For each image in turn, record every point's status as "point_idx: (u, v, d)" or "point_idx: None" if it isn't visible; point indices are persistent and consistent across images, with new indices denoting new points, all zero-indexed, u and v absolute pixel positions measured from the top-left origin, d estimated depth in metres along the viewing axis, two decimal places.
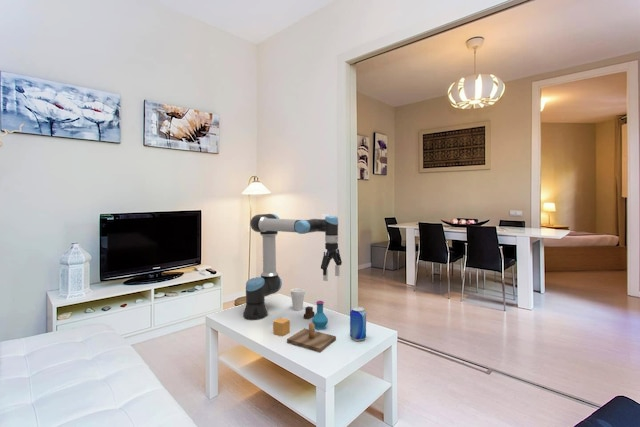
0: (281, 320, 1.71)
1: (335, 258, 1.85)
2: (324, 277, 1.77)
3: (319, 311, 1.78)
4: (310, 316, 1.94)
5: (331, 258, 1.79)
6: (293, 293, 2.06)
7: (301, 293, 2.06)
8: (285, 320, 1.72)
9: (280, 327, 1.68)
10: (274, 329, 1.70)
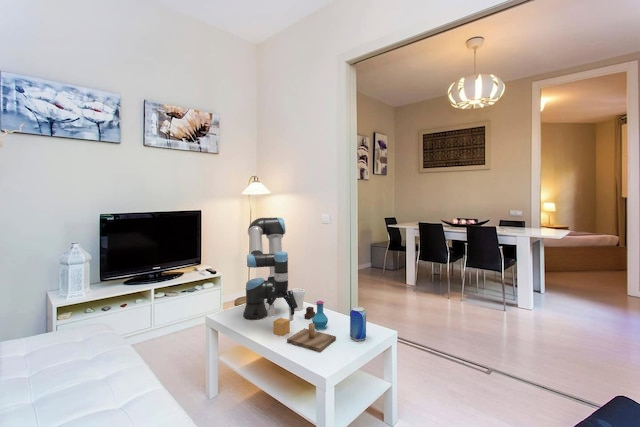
0: (281, 320, 1.71)
1: None
2: None
3: (319, 311, 1.78)
4: (311, 316, 1.93)
5: (275, 296, 1.71)
6: (293, 293, 2.06)
7: (301, 293, 2.06)
8: (285, 320, 1.72)
9: (280, 327, 1.68)
10: (274, 329, 1.70)
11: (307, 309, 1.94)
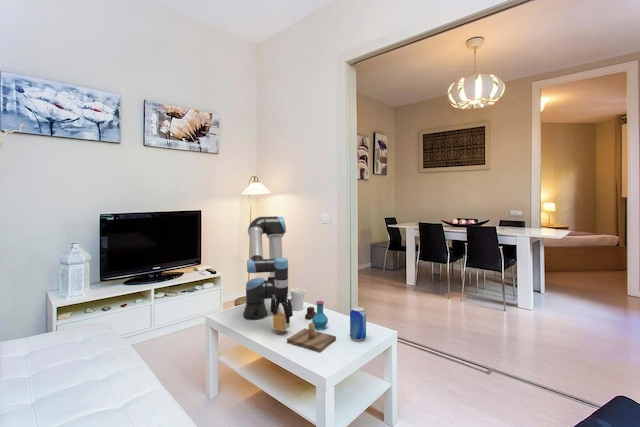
0: (281, 315, 1.71)
1: None
2: None
3: (319, 311, 1.78)
4: (312, 316, 1.93)
5: (276, 303, 1.71)
6: (293, 293, 2.06)
7: (301, 293, 2.06)
8: None
9: (280, 322, 1.68)
10: (274, 323, 1.71)
11: (308, 309, 1.93)
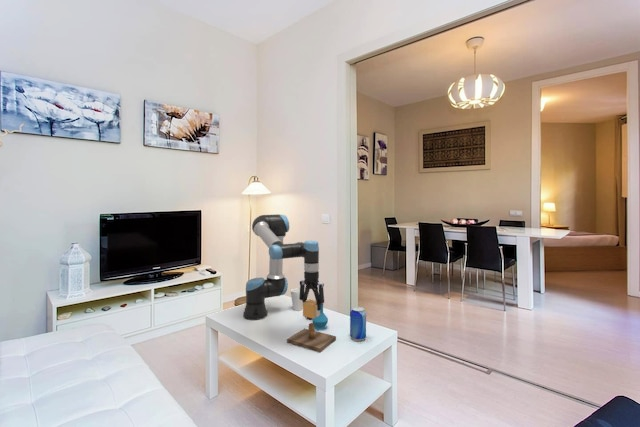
0: (311, 302, 1.60)
1: None
2: None
3: None
4: None
5: (306, 289, 1.60)
6: (293, 293, 2.06)
7: None
8: (315, 302, 1.61)
9: (311, 308, 1.57)
10: (304, 311, 1.59)
11: None
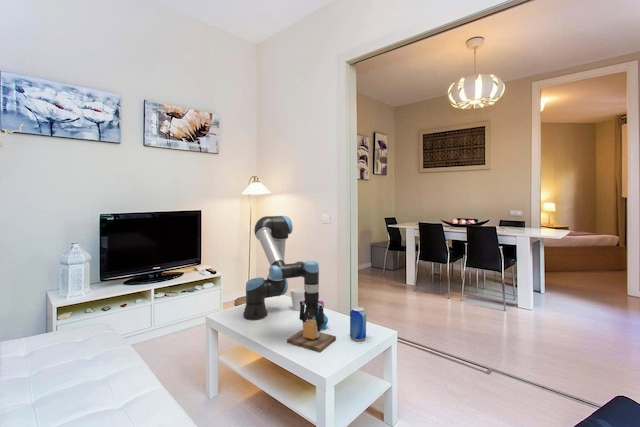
0: (311, 322, 1.60)
1: None
2: None
3: None
4: None
5: (306, 309, 1.60)
6: (293, 293, 2.06)
7: (301, 293, 2.06)
8: (315, 322, 1.61)
9: (311, 329, 1.57)
10: (304, 331, 1.60)
11: (310, 310, 1.93)
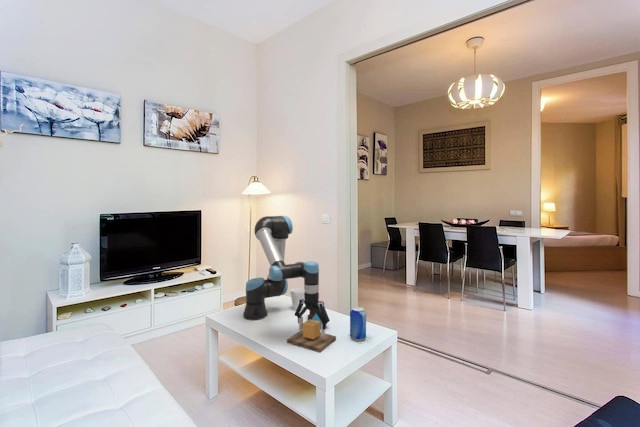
0: (311, 322, 1.60)
1: None
2: None
3: None
4: None
5: (304, 308, 1.61)
6: (293, 293, 2.06)
7: (301, 293, 2.06)
8: (315, 322, 1.61)
9: (311, 329, 1.57)
10: (304, 331, 1.60)
11: (310, 310, 1.92)
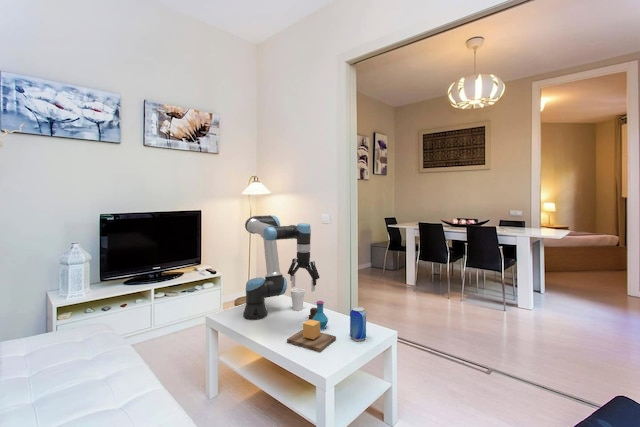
0: (311, 322, 1.60)
1: None
2: None
3: (319, 311, 1.78)
4: None
5: (297, 266, 1.73)
6: (293, 293, 2.06)
7: (301, 293, 2.06)
8: (315, 322, 1.61)
9: (311, 329, 1.57)
10: (304, 331, 1.60)
11: (311, 310, 1.92)
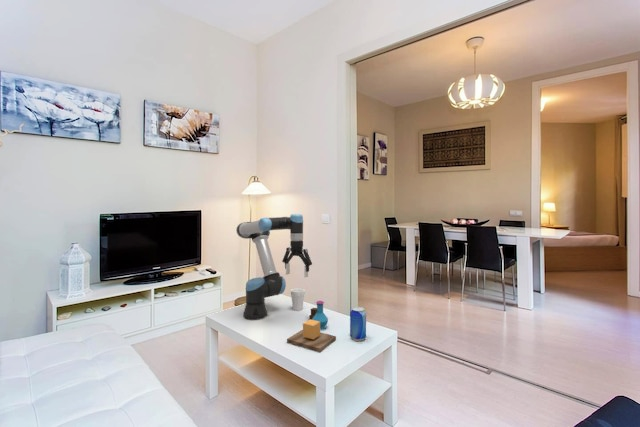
0: (311, 322, 1.60)
1: None
2: None
3: (319, 311, 1.78)
4: None
5: (290, 255, 1.85)
6: (293, 293, 2.06)
7: (301, 293, 2.06)
8: (315, 322, 1.61)
9: (311, 329, 1.57)
10: (304, 331, 1.60)
11: (312, 310, 1.92)
